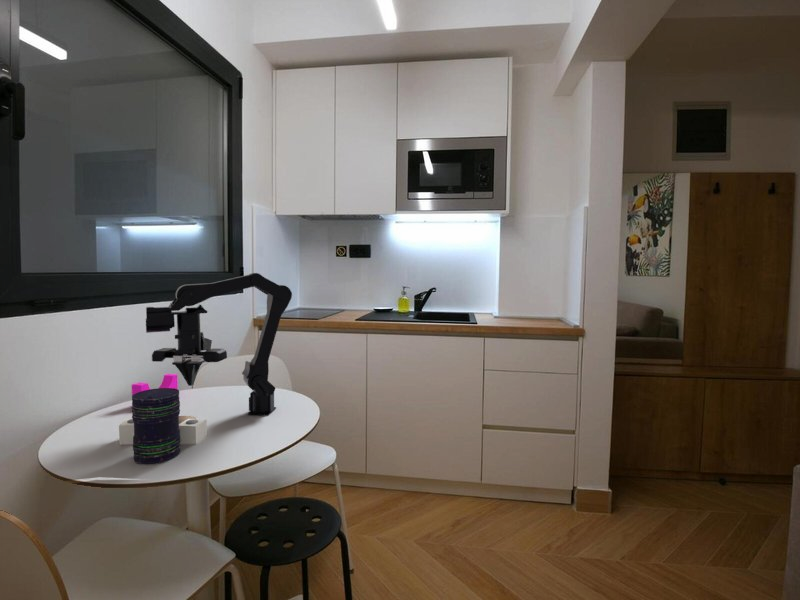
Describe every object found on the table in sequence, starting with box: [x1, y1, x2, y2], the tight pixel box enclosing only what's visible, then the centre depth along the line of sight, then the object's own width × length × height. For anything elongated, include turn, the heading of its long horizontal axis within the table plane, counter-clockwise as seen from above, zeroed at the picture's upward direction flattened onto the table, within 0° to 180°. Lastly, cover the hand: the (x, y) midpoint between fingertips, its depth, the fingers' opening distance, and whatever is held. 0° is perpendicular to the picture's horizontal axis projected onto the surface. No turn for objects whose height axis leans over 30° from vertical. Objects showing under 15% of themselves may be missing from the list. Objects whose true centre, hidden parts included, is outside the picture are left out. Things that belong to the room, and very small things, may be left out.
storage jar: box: [131, 387, 181, 466], centre depth 100 cm, size 10×10×15 cm
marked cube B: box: [118, 418, 134, 446], centre depth 109 cm, size 5×5×5 cm
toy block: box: [131, 373, 179, 403], centre depth 142 cm, size 15×6×8 cm, turn 165°
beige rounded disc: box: [179, 415, 198, 424], centre depth 116 cm, size 8×8×3 cm
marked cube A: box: [179, 418, 208, 445], centre depth 109 cm, size 5×5×5 cm
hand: (190, 385), depth 119 cm, fingers closed
